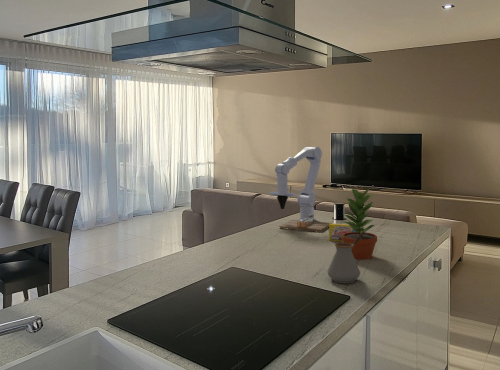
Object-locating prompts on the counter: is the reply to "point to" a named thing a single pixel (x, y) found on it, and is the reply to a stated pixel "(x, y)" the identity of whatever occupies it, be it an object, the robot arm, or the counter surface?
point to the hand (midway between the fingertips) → (282, 208)
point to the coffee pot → (344, 263)
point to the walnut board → (312, 227)
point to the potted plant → (360, 227)
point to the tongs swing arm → (301, 221)
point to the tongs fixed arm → (307, 221)
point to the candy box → (338, 231)
